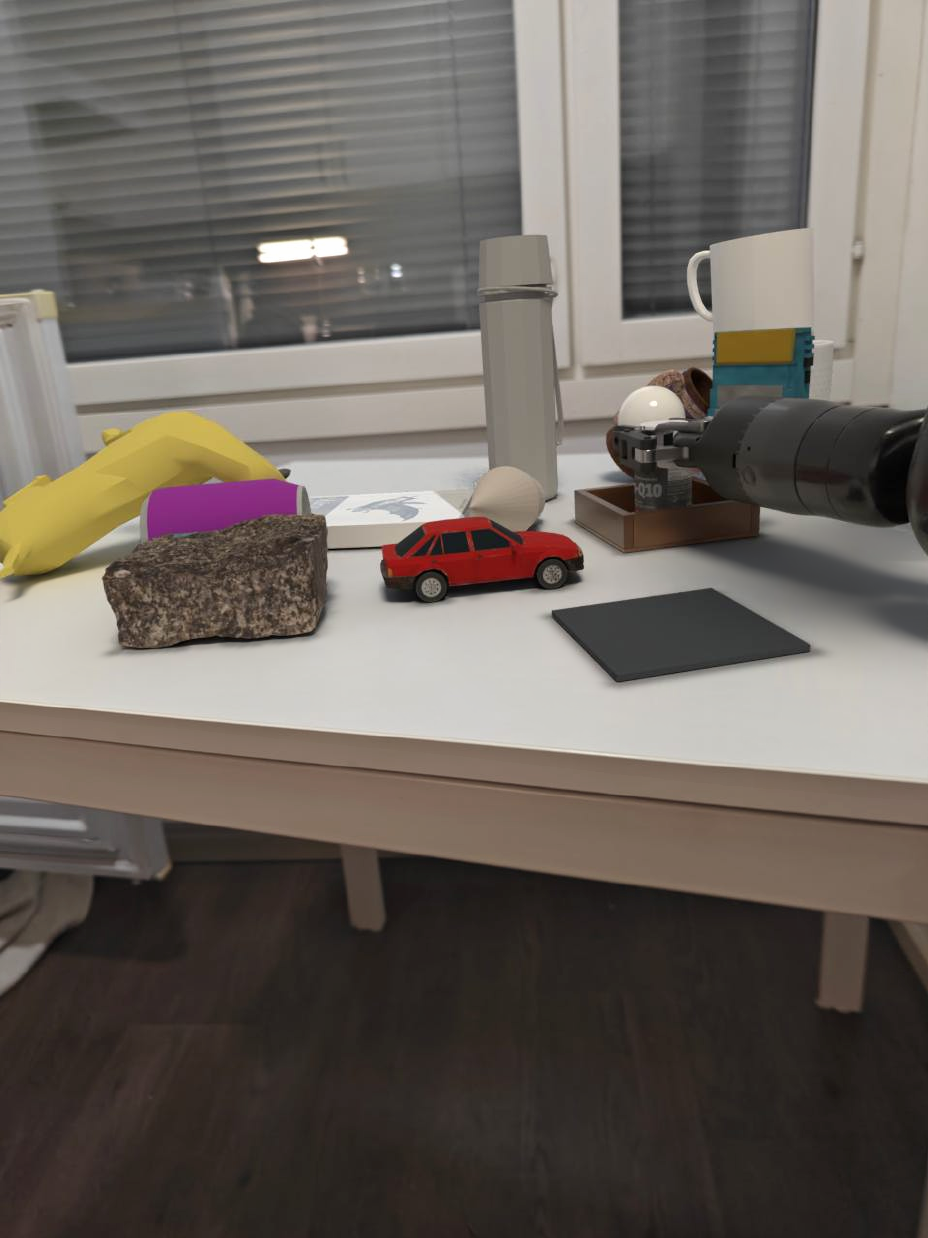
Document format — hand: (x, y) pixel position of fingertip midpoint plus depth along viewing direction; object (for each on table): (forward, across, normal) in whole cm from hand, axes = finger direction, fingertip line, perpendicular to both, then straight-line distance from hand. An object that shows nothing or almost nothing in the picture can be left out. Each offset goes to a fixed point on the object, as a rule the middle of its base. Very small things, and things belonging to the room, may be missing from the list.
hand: (644, 434), depth 72 cm
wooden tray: (-3, 0, +8) cm, 8 cm away
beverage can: (+7, +41, +4) cm, 42 cm away
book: (+15, +23, +8) cm, 28 cm away
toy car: (-8, +19, +8) cm, 23 cm away
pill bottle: (-3, 0, +7) cm, 8 cm away
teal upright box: (+5, -16, +8) cm, 18 cm away
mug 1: (+19, -9, +5) cm, 21 cm away
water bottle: (+17, +3, +8) cm, 19 cm away
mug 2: (+14, -22, -6) cm, 27 cm away
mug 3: (+13, -26, +8) cm, 30 cm away
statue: (+25, +46, +5) cm, 52 cm away
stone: (-6, +38, 0) cm, 39 cm away
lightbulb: (+7, -6, +8) cm, 12 cm away
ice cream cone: (+3, +12, +8) cm, 15 cm away
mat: (-23, +14, +8) cm, 28 cm away
